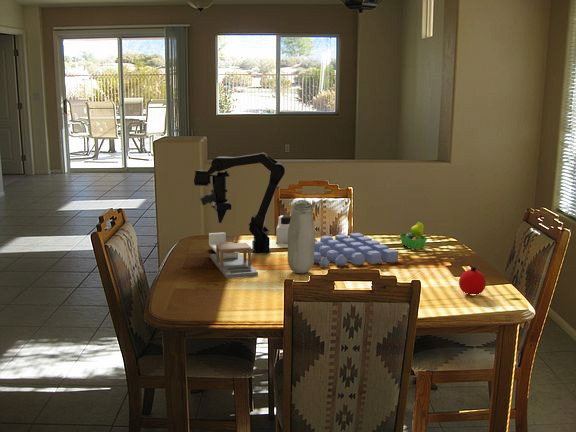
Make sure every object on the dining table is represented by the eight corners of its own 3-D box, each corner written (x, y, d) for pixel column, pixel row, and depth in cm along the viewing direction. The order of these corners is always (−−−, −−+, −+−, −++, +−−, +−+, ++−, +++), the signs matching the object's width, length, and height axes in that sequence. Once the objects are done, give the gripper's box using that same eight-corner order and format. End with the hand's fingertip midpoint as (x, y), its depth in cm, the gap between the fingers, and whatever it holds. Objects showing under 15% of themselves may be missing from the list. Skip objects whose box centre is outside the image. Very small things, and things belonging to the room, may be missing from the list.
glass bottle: (311, 277, 248) (313, 203, 242) (285, 275, 250) (285, 202, 244) (315, 269, 258) (317, 198, 252) (290, 267, 260) (291, 197, 254)
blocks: (398, 263, 270) (398, 251, 269) (320, 270, 258) (321, 258, 257) (358, 243, 302) (359, 232, 301) (288, 249, 290) (288, 238, 289)
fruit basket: (398, 245, 297) (399, 220, 295) (414, 243, 301) (415, 219, 298) (413, 251, 287) (414, 226, 285) (429, 249, 291) (431, 224, 288)
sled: (224, 243, 289) (224, 232, 288) (238, 257, 267) (238, 245, 266) (209, 244, 287) (209, 233, 286) (221, 258, 265) (220, 246, 264)
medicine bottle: (293, 240, 304) (293, 214, 302) (291, 243, 297) (292, 217, 295) (277, 239, 305) (278, 214, 303) (276, 243, 298) (276, 217, 296)
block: (231, 251, 272) (231, 241, 272) (234, 254, 268) (234, 244, 267) (220, 252, 271) (219, 242, 270) (222, 255, 266) (222, 245, 265)
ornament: (464, 289, 236) (466, 262, 233) (489, 294, 230) (491, 267, 228) (453, 295, 229) (455, 267, 227) (478, 301, 223) (480, 272, 221)
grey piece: (238, 255, 276) (238, 235, 275) (257, 275, 249) (257, 254, 247) (210, 257, 273) (210, 237, 271) (226, 278, 245) (226, 256, 243)
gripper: (196, 184, 286) (197, 219, 289) (204, 191, 268) (205, 228, 272) (221, 183, 289) (222, 218, 292) (231, 189, 272) (231, 227, 275)
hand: (219, 222), depth 283 cm, fingers closed
